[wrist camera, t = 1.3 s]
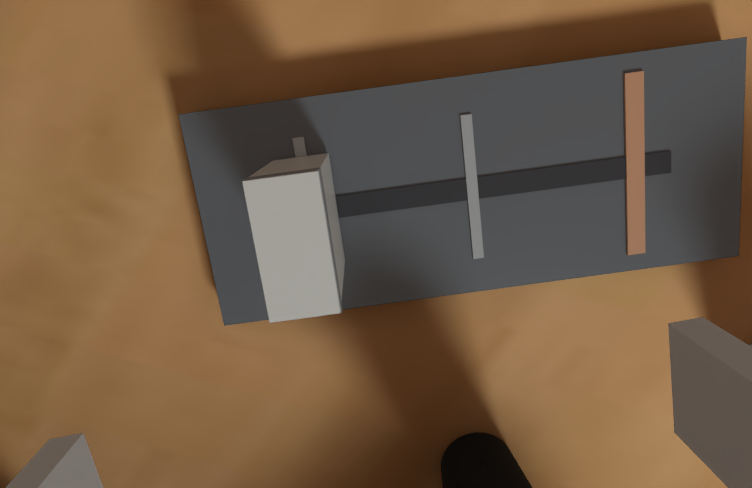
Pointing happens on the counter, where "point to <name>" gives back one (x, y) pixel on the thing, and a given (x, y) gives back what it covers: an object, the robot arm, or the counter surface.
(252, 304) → the fader console
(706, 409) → the robot arm
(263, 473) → the counter surface
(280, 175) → the fader knob
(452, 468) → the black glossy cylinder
